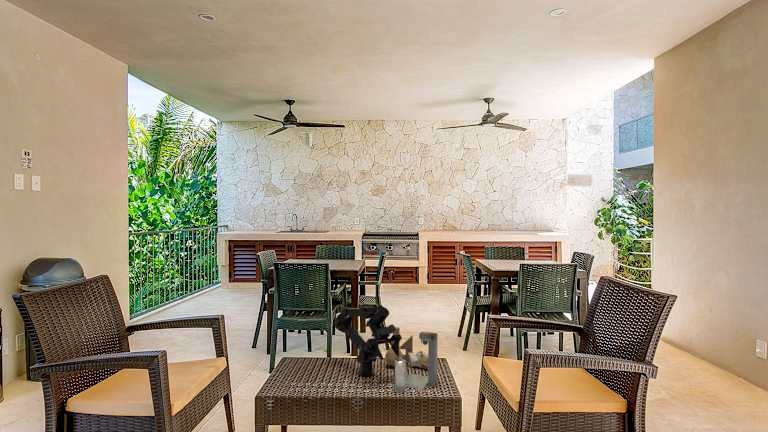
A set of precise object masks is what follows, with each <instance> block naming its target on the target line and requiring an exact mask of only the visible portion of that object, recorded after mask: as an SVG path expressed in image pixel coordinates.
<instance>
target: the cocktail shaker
mask: <svg viewBox="0 0 768 432" xmlns="http://www.w3.org/2000/svg"><path fill="white" fill-rule="evenodd" d="M406 364H407V363H406V361H405V360H403V359H402V358H401V357H399V358H398V359H396V360H395V367H394V391H395V392H397V393H403V392H406V387H405V377H406V376H407V374H406V369H407V368H406V366H407V365H406Z"/></svg>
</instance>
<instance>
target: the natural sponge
mask: <svg viewBox="0 0 768 432" xmlns="http://www.w3.org/2000/svg"><path fill="white" fill-rule="evenodd" d="M402 354H403V352H402V349H399V357H401V358H402V356H403V355H404V354H403V355H402ZM399 357H398V356H397V355H396V354H395V352H394V351H393V350H392V348H391V347H390V348H388V350H386V352H385V356H384V359H385V361H386V363H387V364H389V365H390V366H391V367H393V368H395V360H396V359H398V358H399Z"/></svg>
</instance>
